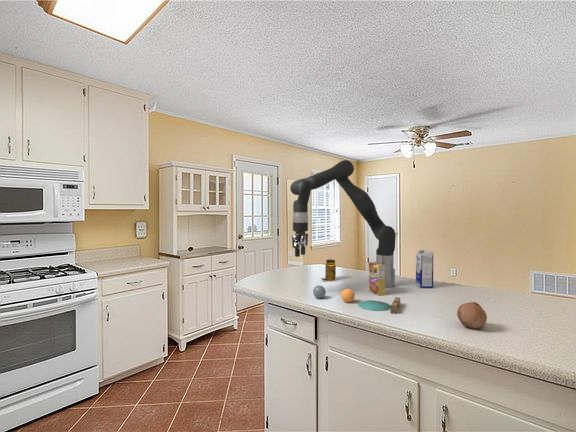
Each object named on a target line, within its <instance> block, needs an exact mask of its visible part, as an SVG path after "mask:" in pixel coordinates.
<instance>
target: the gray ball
mask: <svg viewBox="0 0 576 432" xmlns="http://www.w3.org/2000/svg"><path fill="white" fill-rule="evenodd" d="M326 292H327V291H326V289H325V287H324V286H323V285H316V286H315V287H313V289H312V295H313V296H314V297H315V298H317V299H322V298H323V297H325V295H326Z"/></svg>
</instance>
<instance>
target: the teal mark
mask: <svg viewBox="0 0 576 432" xmlns="http://www.w3.org/2000/svg"><path fill="white" fill-rule="evenodd" d="M357 305H358V307H360V308H361V309H365V310H368V311H373V312H375V311H376V312H379V311H380V312H382V311H383V312H384V311H388V310H391V304H389V303H388V302H385V301H381V300H362V301H359V302H358V303H357Z"/></svg>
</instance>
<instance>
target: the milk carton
mask: <svg viewBox="0 0 576 432" xmlns="http://www.w3.org/2000/svg"><path fill="white" fill-rule="evenodd" d="M434 253H435V252H434V251H433V250H431V249H426V250H425V249H423V250H419V251H418V252H416V253H415V286H417V287H418V288H419V289H434V260H435V259H434Z"/></svg>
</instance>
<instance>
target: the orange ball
mask: <svg viewBox="0 0 576 432" xmlns="http://www.w3.org/2000/svg"><path fill="white" fill-rule="evenodd" d="M340 296H341V300H343V301H344V302H346V303H351V302H353V301H354V300H355V292H354V290H352V289H350V288H344V289H343V290H342V291H341V294H340Z"/></svg>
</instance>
